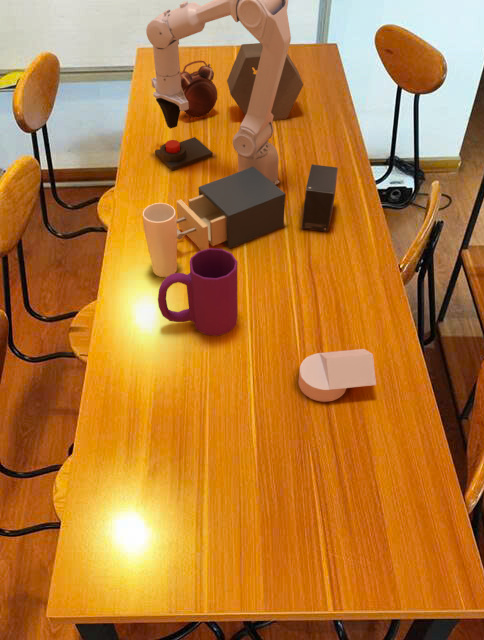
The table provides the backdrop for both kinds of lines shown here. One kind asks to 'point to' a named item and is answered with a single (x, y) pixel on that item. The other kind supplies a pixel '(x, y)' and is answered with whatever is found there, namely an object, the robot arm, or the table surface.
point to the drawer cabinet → (247, 204)
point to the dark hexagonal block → (244, 81)
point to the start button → (172, 146)
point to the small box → (319, 197)
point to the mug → (206, 292)
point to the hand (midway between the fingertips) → (172, 126)
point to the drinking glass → (161, 237)
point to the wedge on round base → (335, 373)
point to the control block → (184, 154)
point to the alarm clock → (199, 90)
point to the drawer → (201, 222)
